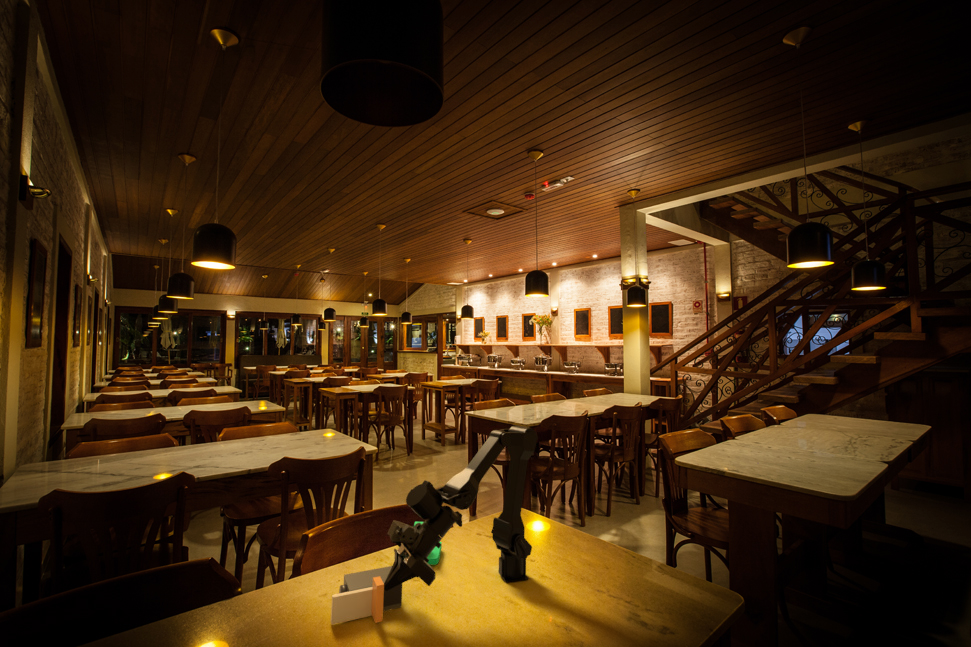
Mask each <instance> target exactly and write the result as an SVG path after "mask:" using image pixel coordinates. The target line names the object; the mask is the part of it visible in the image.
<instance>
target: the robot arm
mask: <svg viewBox="0 0 971 647" xmlns="http://www.w3.org/2000/svg"><path fill="white" fill-rule="evenodd" d="M488 436H489V437H488V438H487V439H486V441H485V442H484V443H483V445H482V446H481V447H480V449H479V450H478V451H477V453H476V454H475V455H474V457H473V458H472V460H470V462H469V463H468V464H467V466H466V467H465V468H463V470H462V471H460V472H458V473H457V474H456V473H455V475H453V476H452V477H451V478H450V479H449V480H448V481H447V482H446V483H445V484H444V485H443V486H441V487H439V488H437V489H436V488H435V486H434V485H433V484H432V482H430V481H429V480H426V479H425V480H423V482H422V483H420V484H417V485H416V486H414V487H413V488H412V489H410V491H409V492H408V493H407V496H406V499H405V503H406V505H407V506H408V507H409V508H410V509H411V510H412V511H413V512H414V513H415V514H417V516H419V517H420V519H422V520H424V521H422V522H423V523H422V525H421V524H420V523H417V524H416V525H415V526H414V525H413V526H412V525H410V524H407V523H404V522H401V521H398V520H395V519H394V520H393V521H392V522H391V525H390V527H389V529H388V531H387V535H388V536H389V540H390V541H391V542H392V543H393V544H396V545H397V546H398V548H397V549H396V548H393V552H394V562H393V564H392V565H391V566H392V568H391V570H390V572H389V574H388V576H387V579H386V581H385V583H384V590H385V591H388V590H390V589H392V588H394V587H396V586H398V585H399V584H401V583H402V584H403V583H405V582H408V581H410V580H412V579H415V578H417V579H418V578H419V579H420V580H421V581H422V582H424V583H425V584H426V585H427V586H428V587H431V585H432V584H433V582H434V581H435V580H436V573H437V572H436V571H435V570H434V569H433V567H432V565H429V564H428V561H429V559H428V558H427V557H428V555H429V554H430V553H431V552H432V550H433V549H434V548H435V547H437V548H440V546H441V544H440V543H439V542H442V540H443V538H444V537H445V536H446V534H447V533H448V532H449V531H450V529H451V528H452V527H453V526H454V524H456V525H457V526H459V527H460V528H461V527H463V514H462V513H461V512H459V511H458V510H460V511H461V510H462V511H464V510H468V509H469V508H470V507H472V505H473V503H474V501H475V499H476V498H477V496H478V494H479V489H480V488H479V487H480V483H481V481H482V479H483V478H484V477H485V476H486V474H487V473H488V471H489V470H490V469H491V467H492V466H493V464H494V463H495V462H496V460H497V458H498V457H499V456H500V455H501V453H502V452H503V451H504V449H505V448H506V449H507V451H508V455H509V464H508V470H507V471H508V472H507V478H506V484H505V485H506V486H505V493H504V499H503V505H502V506H503V507H502V512H501V513H499V515H498V517H493V521H492V522H493V523H492V529H491V531H490V533H491V534H492V536H491V537H492V540H493V542H494V544H495V547H496V549H497V550H499V551H500V556H499V557H498V570H497V571H498V573H499V575H500V577H502V580H503V581H504V582H505V583H514V582H521V581H528V580H529V576H528V575H527V558H528V556H531V553H532V549H533V546H532V545H531V544H530V542H529V541H528V540H527V539H526V538H525V524H524V521H523V519H522V518H523V517H522V506H523V499H524V492H525V486H526V485H525V484H526V476H527V469H528V464H529V463H528V462H529V460H530V458H531V457H532V456H533V454H534V453H535V450H536V447H537V443H538V433H537V432H536V430H535V429H534V428H532V427H529V426H521V425H517V424H516V425H512V426H511V427H510V428H502V429H494V430H492V431H491V432H490V433H489V435H488ZM443 504H446V505H443ZM451 507H453V508H455V509H458V510H457V511H454V509H452V508H451Z"/></svg>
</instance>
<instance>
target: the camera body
mask: <svg viewBox="0 0 971 647" xmlns="http://www.w3.org/2000/svg"><path fill="white" fill-rule="evenodd" d="M392 566H393V565H388V566H384V567H379V568H373V569H368V570H362V571H357V572H351V573H346V574H343V584H340V585H339V589H338V590H339V592H338V594H339V593H344V592H349V591H354V590H359V589H363V588H368V587H372V586H373V578H374V577H379V576H380V577H381V579H382V581H383V583H385V581H386V579H387V576H388V574H389V572H390V570H391V568H392ZM402 604H403V583H401V584H399V585H398V586H396V587H394V588H392V589H390V590H388V591H385V590H384V600H383V612H385V611H390V610H394V609H399V608H402Z"/></svg>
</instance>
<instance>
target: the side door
mask: <svg viewBox="0 0 971 647" xmlns="http://www.w3.org/2000/svg"><path fill="white" fill-rule="evenodd" d="M383 600H384V583H383V581H382V579H381V577H380V576H379V577H374V578H373V586H372V587H368V588H363V589H359V590H354V591H349V592H344V593H339V592H338V593H335V594H332V595H331V607H330V609H331V611H330V625H336V624H341V623H346V622H349V621H355V620H358V619H363V618H366V617H372V620H373V621H374V623H375V624H376V623H381V622H383V618H384V616H383V615H384V611H383Z"/></svg>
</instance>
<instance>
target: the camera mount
mask: <svg viewBox="0 0 971 647" xmlns="http://www.w3.org/2000/svg"><path fill="white" fill-rule="evenodd" d="M423 522H424V521H414V524H413V527H414V526H415V525H416V524H417V523H420V524H421V525H422V523H423ZM439 543H440V544H441V546H440V548H437V547H435V548H434V549H433V550H432V552H431V553H430V554H429V555H428V557H427V558H428V559H429V561H428V564H429V565H430V566H432V565H434V566H435V565H438V563H439V562H440V558H441V552H442V547H443V546H442V543H443V542H442V541H440V542H439Z"/></svg>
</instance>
